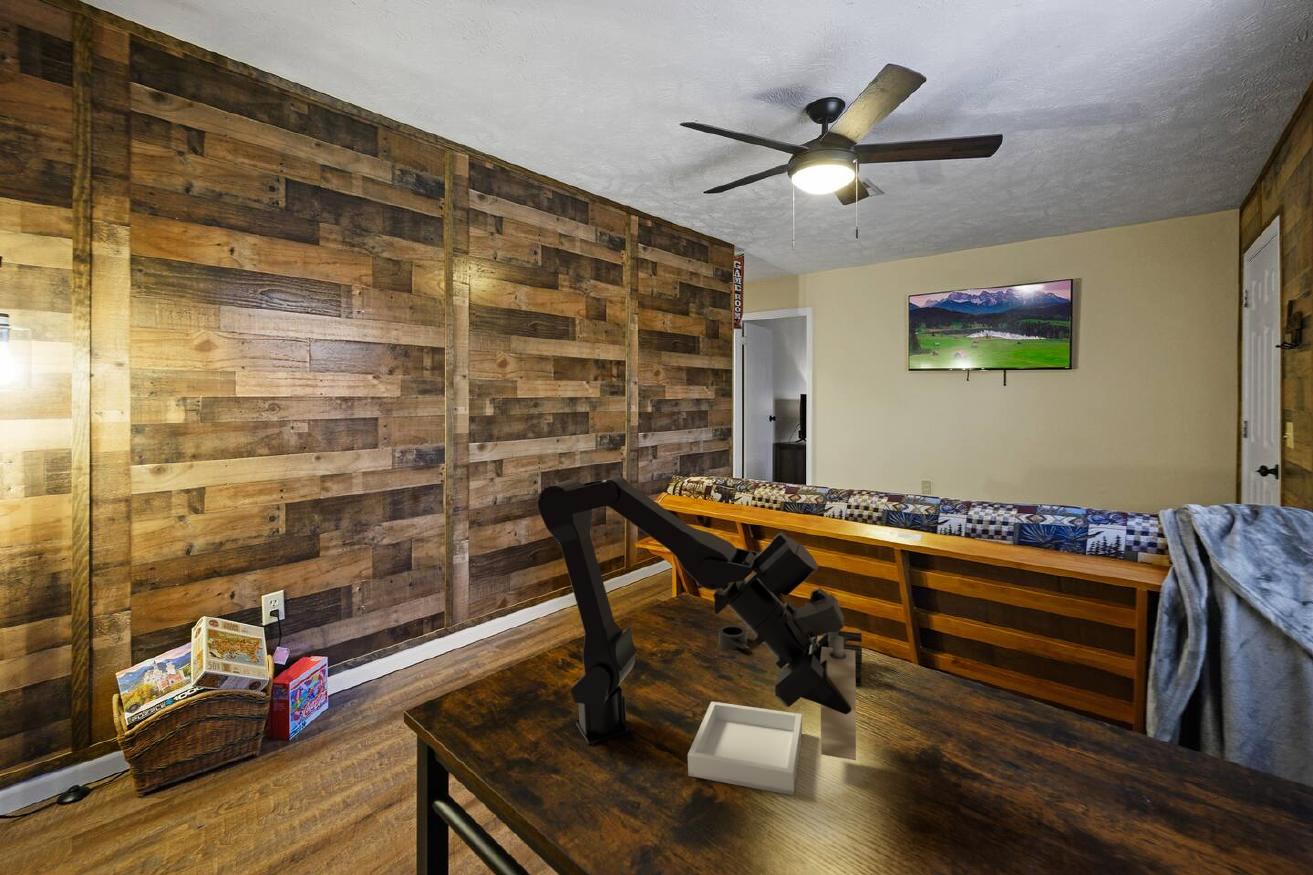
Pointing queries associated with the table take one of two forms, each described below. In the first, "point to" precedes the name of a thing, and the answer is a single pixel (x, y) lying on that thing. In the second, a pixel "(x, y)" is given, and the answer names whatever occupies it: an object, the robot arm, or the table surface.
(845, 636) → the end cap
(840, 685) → the wooden square post
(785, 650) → the robot arm
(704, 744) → the white square tray
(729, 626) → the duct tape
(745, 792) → the table surface
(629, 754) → the table surface
